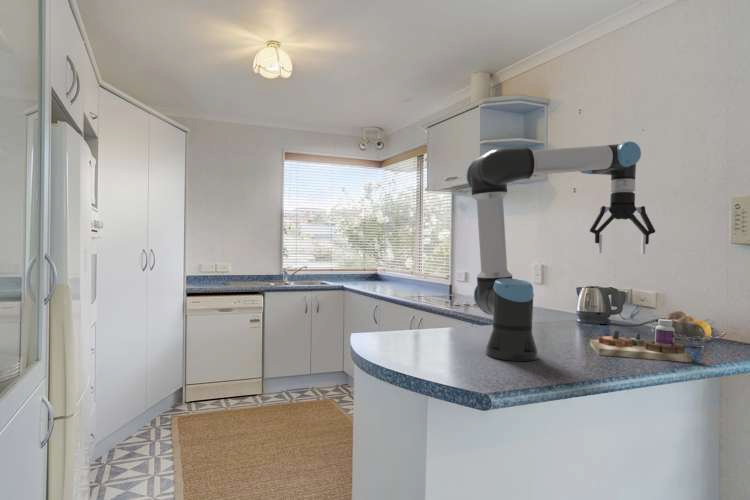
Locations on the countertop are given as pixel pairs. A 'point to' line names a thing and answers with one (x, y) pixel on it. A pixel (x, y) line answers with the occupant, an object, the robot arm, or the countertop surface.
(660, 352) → the gear board
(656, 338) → the pill bottle
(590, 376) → the countertop surface
